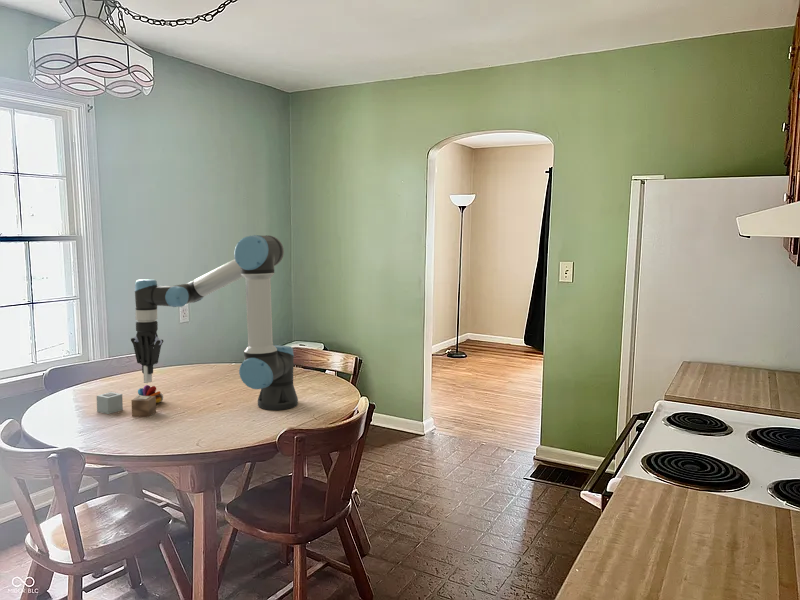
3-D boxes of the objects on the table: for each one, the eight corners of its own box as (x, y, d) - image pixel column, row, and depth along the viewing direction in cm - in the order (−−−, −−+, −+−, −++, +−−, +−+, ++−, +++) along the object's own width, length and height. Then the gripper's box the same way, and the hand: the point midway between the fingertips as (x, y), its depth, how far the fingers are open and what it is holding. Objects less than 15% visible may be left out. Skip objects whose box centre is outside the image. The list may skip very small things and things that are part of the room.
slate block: (122, 410, 217) (122, 393, 216) (108, 414, 211) (107, 397, 211) (111, 407, 219) (111, 391, 219) (97, 411, 214) (96, 395, 213)
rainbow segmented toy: (153, 408, 220) (153, 389, 219) (130, 406, 222) (129, 387, 221) (166, 401, 228) (166, 383, 228) (144, 400, 230) (143, 381, 229)
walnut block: (156, 412, 215) (155, 395, 215) (148, 417, 209) (148, 400, 209) (139, 411, 216) (139, 395, 215) (131, 416, 210) (131, 399, 209)
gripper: (168, 320, 223) (169, 381, 226) (139, 318, 227) (140, 378, 229) (154, 323, 216) (155, 386, 219) (124, 320, 220) (126, 382, 222)
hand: (147, 382), depth 224 cm, fingers closed
